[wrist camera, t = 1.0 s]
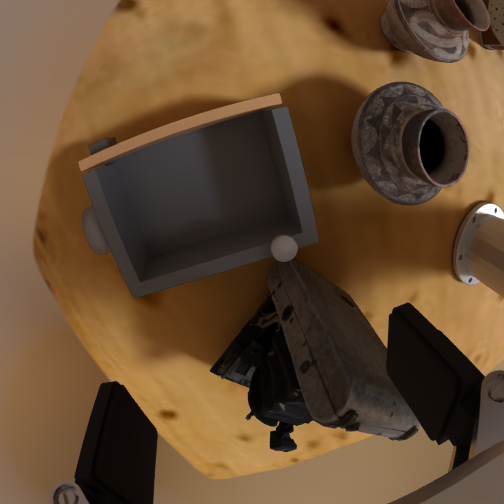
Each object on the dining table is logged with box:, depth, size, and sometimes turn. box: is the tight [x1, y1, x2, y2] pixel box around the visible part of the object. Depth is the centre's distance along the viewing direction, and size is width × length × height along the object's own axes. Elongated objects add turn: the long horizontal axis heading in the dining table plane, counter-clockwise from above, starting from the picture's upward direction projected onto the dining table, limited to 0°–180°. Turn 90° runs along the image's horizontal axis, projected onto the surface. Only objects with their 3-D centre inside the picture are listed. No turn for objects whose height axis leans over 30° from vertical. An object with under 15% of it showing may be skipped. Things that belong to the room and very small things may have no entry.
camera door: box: [78, 93, 282, 171], centre depth 22 cm, size 16×2×5 cm, turn 105°
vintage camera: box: [210, 259, 421, 452], centre depth 25 cm, size 10×16×20 cm, turn 145°
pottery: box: [351, 0, 490, 205], centre depth 20 cm, size 11×25×12 cm, turn 166°
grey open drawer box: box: [82, 106, 320, 298], centre depth 24 cm, size 18×12×7 cm
